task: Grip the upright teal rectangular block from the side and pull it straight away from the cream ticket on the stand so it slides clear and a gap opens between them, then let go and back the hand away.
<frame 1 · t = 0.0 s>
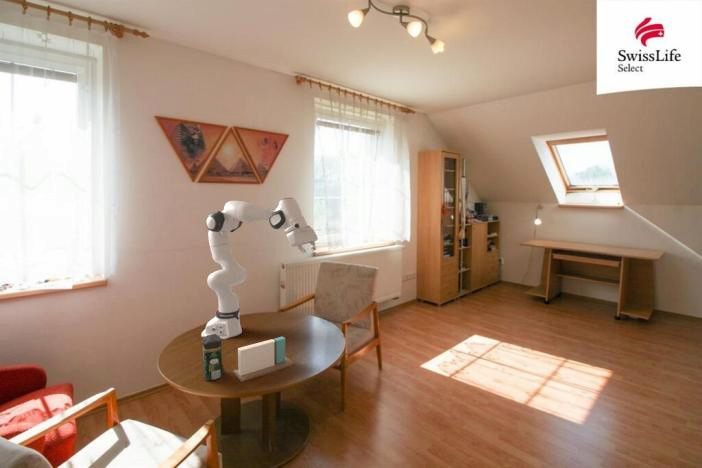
hand: (309, 251, 174), 54 cm above the table, tool tilted 30°, fingers open, 8 cm apart
coffee jar: (213, 376, 158), on the table
phone: (212, 367, 165), on the table
teal rectangular block: (279, 350, 168), point 7 cm above the table, slide at 0.0 cm
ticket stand: (264, 368, 165), on the table
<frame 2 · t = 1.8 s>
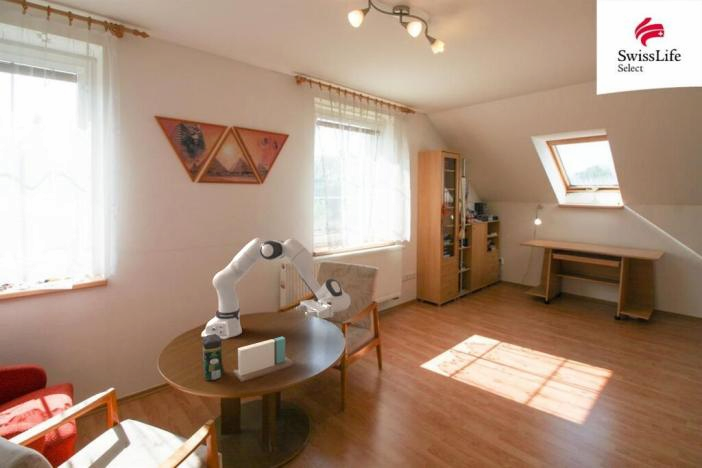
hand: (301, 311, 174), 24 cm above the table, tool horizontal, fingers open, 8 cm apart
nothing on the table moved.
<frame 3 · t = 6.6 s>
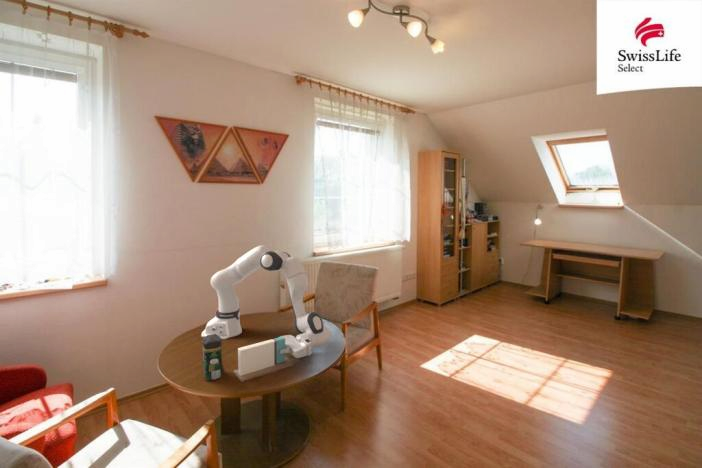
hand: (277, 349, 168), 8 cm above the table, tool horizontal, fingers closed on teal rectangular block, 3 cm apart
teal rectangular block: (279, 350, 168), point 7 cm above the table, slide at 0.0 cm, touching gripper
everything else where it was.
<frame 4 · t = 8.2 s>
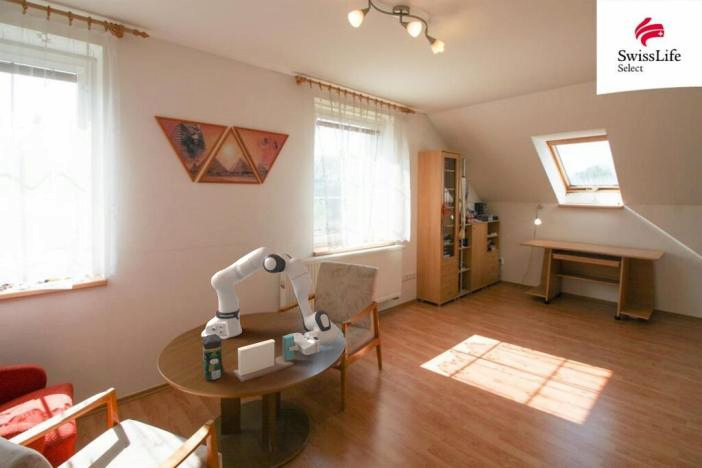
hand: (286, 347, 171), 8 cm above the table, tool horizontal, fingers closed on teal rectangular block, 3 cm apart
teal rectangular block: (288, 347, 171), point 7 cm above the table, slide at 4.9 cm, touching gripper
everything else where it was.
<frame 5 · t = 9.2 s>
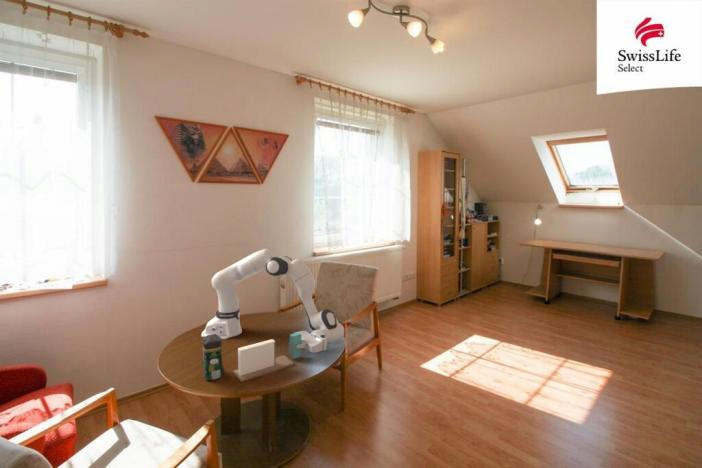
hand: (294, 345, 173), 8 cm above the table, tool horizontal, fingers closed on teal rectangular block, 3 cm apart
teal rectangular block: (295, 345, 174), point 7 cm above the table, slide at 9.0 cm, touching gripper
everything else where it was.
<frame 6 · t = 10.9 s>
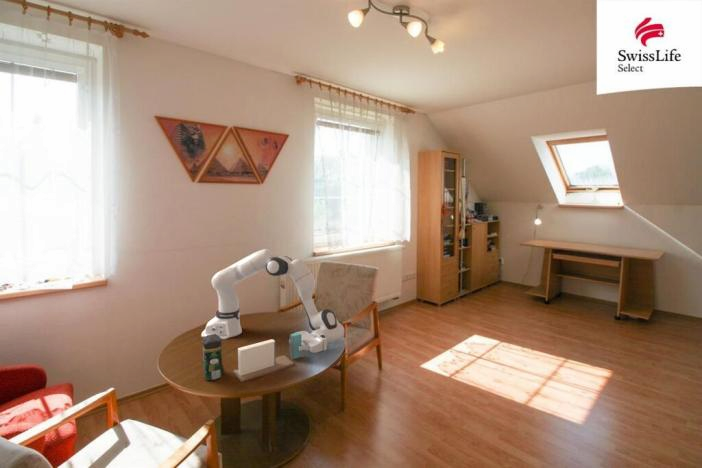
hand: (294, 345, 173), 8 cm above the table, tool horizontal, fingers open, 8 cm apart
teal rectangular block: (295, 345, 174), point 7 cm above the table, slide at 9.0 cm
everything else where it was.
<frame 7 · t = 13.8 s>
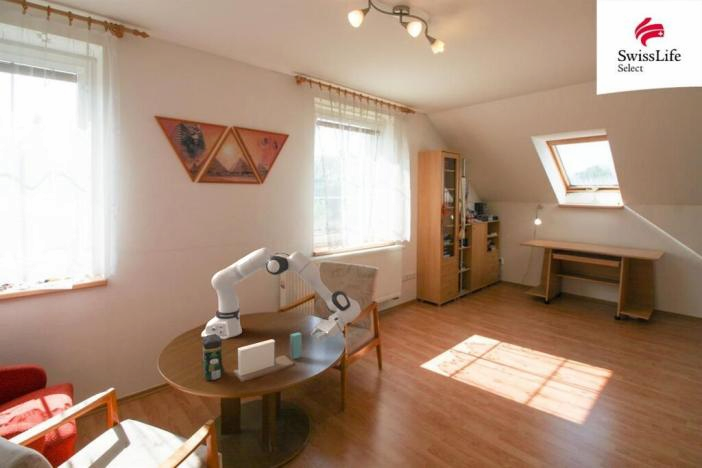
hand: (314, 337, 181), 8 cm above the table, tool tilted 65°, fingers open, 8 cm apart
nothing on the table moved.
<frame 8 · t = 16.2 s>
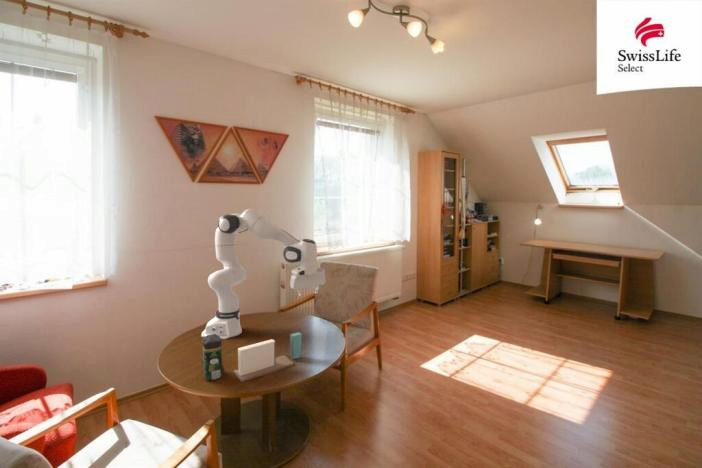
hand: (308, 294, 186), 29 cm above the table, tool pointing down, fingers open, 8 cm apart
nothing on the table moved.
at the end: teal rectangular block slide at 9.0 cm; the gripper is holding nothing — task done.
